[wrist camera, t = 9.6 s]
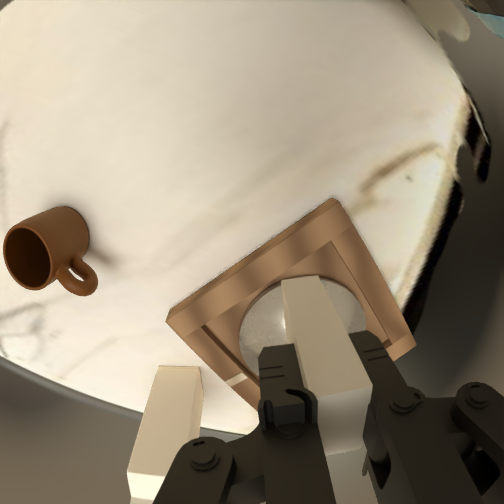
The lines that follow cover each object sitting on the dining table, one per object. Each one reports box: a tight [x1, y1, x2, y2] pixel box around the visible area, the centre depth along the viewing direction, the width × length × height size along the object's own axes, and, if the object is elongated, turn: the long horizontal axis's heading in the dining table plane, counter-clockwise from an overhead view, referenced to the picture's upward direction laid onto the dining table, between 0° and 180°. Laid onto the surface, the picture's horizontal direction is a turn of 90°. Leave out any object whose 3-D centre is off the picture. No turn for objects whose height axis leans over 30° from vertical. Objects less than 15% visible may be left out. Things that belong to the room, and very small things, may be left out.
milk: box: [127, 366, 204, 504], centre depth 33 cm, size 6×6×22 cm
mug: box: [3, 207, 98, 296], centre depth 32 cm, size 12×8×9 cm, turn 58°
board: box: [165, 198, 416, 411], centre depth 39 cm, size 24×24×3 cm
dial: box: [239, 276, 366, 376], centre depth 35 cm, size 16×16×8 cm
